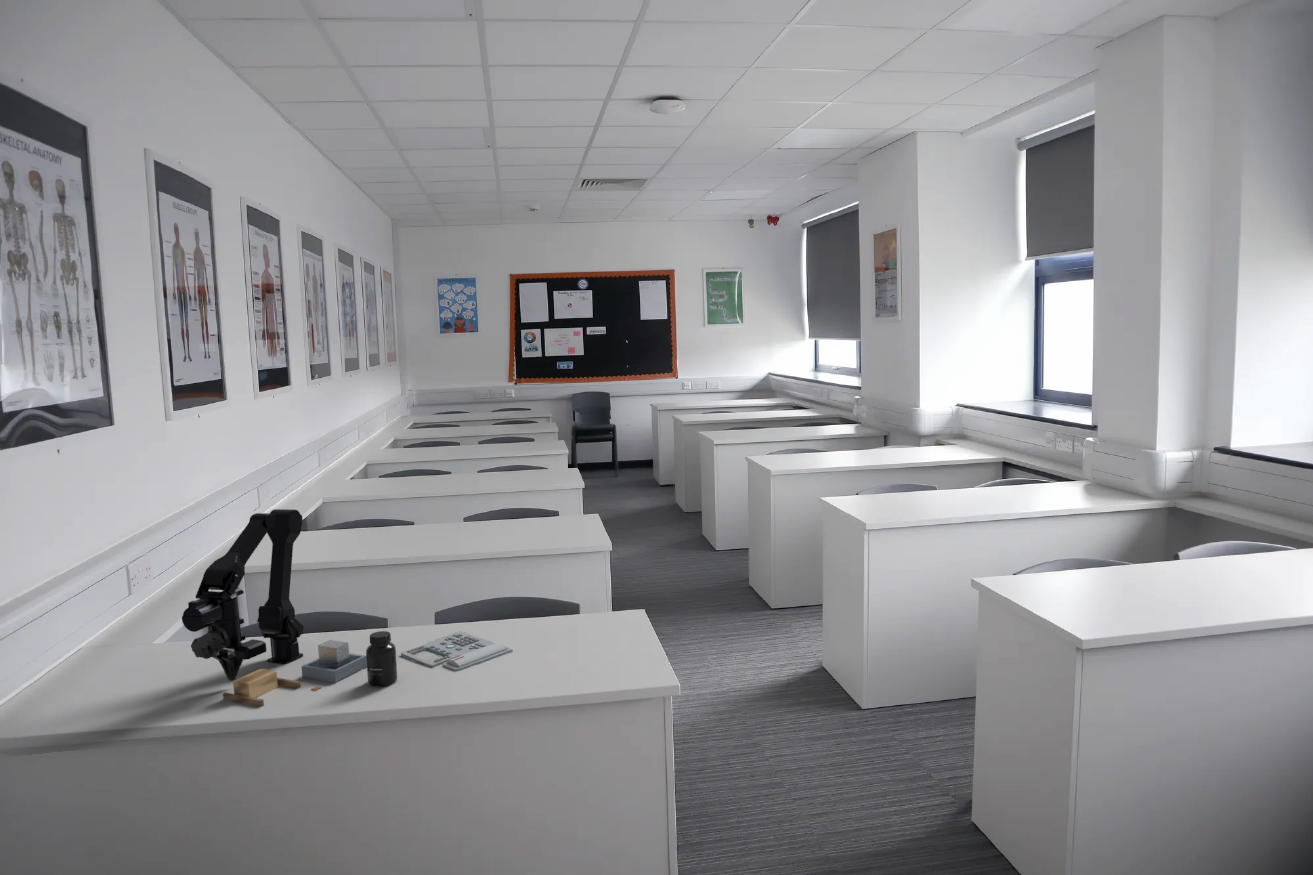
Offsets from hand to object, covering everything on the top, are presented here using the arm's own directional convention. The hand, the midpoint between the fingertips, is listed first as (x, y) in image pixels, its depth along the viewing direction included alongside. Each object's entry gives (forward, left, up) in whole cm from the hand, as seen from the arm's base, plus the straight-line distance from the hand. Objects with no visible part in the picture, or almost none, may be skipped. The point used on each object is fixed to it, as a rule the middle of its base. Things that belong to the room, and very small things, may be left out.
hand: (232, 680), depth 206 cm
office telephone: (+38, +37, -3) cm, 53 cm away
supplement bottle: (+33, +15, -2) cm, 36 cm away
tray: (+17, +16, -2) cm, 23 cm away
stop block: (+17, +16, -2) cm, 23 cm away
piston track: (+12, +1, -2) cm, 13 cm away
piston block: (+8, 0, -2) cm, 8 cm away
